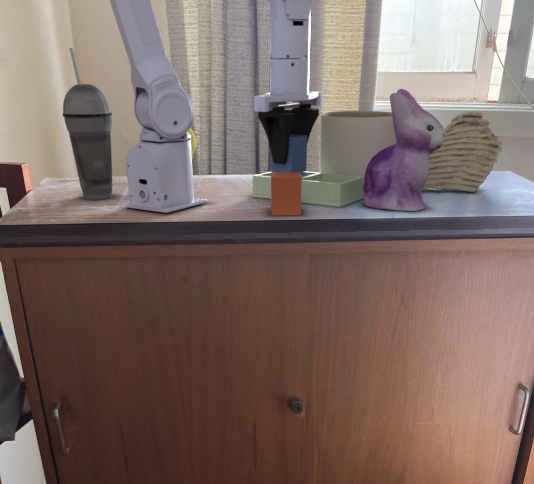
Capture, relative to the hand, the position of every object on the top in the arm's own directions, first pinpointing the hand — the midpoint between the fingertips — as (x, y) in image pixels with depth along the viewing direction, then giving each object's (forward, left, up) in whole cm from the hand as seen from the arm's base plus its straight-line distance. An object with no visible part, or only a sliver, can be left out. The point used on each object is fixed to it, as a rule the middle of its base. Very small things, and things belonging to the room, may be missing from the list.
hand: (288, 161), depth 106 cm
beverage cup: (-17, +25, -5) cm, 31 cm away
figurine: (+1, -18, -5) cm, 19 cm away
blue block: (0, 0, -1) cm, 1 cm away
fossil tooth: (+18, -20, -5) cm, 27 cm away
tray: (0, -4, -5) cm, 6 cm away
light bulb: (-3, +20, -5) cm, 21 cm away
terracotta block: (-12, -7, -5) cm, 14 cm away
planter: (+11, -6, -5) cm, 14 cm away
